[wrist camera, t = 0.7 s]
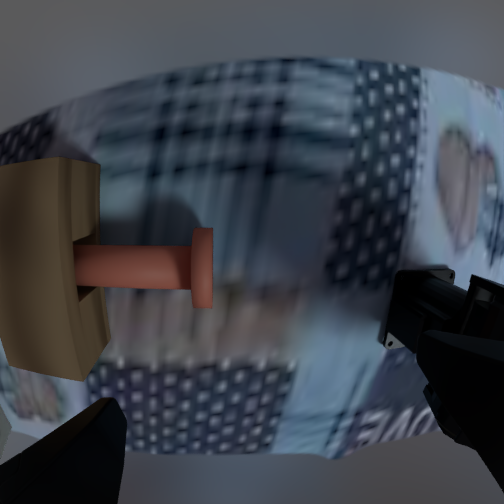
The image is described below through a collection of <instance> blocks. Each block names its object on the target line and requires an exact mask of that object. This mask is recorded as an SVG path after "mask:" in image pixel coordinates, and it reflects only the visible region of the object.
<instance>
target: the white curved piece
mask: <svg viewBox="0 0 504 504" xmlns="http://www.w3.org/2000/svg"><path fill="white" fill-rule="evenodd" d="M11 428H12V426H11V424H10V422H9V421H8V419H7V417H6V415H5V413H4V411H3V409H2V407H1V405H0V459H1V457H2V454H3V451H4V448H5V444H6V442H7V439H8V436H9V434H10V431H11Z"/></svg>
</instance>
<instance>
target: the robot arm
mask: <svg viewBox="0 0 504 504" xmlns="http://www.w3.org/2000/svg"><path fill="white" fill-rule="evenodd" d="M402 275H403V278H402V279H401V276H402ZM449 276H450V277H449ZM454 279H455V271H454V270H451V269H430V270H400V271H398V272H397V274H396V276H395V283H394V289H393V295H392V300H391V304H390V309H389V315H388V320H387V325H386V331H385V336H384V340H383V346H384V347H385V348H386V349H394V348H400V347H406V348H408V349H409V350H410V351H411V352H412V353H414V354H415V353H416V360H417V363H418V365H419V367H420V368H421V370H422V372H423V373H424V375H425V377H426V378H427V380H428V382H429V383H428V385H426V386H425V388H424V390H423V393H424V396H425V398H426V400H427V402H428V404H429V406H430V408H431V410H432V412H433V414H434V416H435V419H436V421H437V423H438V425H439V427H440V428H441V430H442V432H443V433H444V434H445V435H447V436H449V437H450V438H452V439H453V440H454V441H455V442H456V443H458V444H462V445H465V446H468V447H470V448H472V449H474V450H476V451H477V452H478V454H479V456H480V457H481V458H482V460H483V461H484V463H485V465H486V466H487V468H488V469H489V471H490V472H491V474H492V475H493V477H494V478H495V480H496V481H497V483H498V484H499V486H500V488H501V489H502V491H503V493H504V285H502V284H499V283H497V282H494V281H491V280H488V279H485V278H482V277H479V276H476V275H473V274H472V275H471V278H470V281H469V282H470V285H469V289H468V291H466V290H464V289H462V288H460V287H458V286H455V285H453V284H454ZM389 342H390V343H389ZM388 343H389V344H388ZM126 432H127V420H126V417H125V415H124V413H123V412H122V410H121V408H120V406H119V404H118V402H117V400H116V399H115V398H113V397H106V398H100V399H99V400H97V401H96V402H95V403H93V404H92V405H90V406H89V407H87V408H86V409H85V410H83V411H82V412H80V413H79V414H77V415H76V416H74V417H73V418H72V419H70V420H69V421H67V422H66V423H64V424H63V425H61V426H60V427H58V428H57V429H55V430H54V431H52V432H51V433H49V434H48V435H46V436H45V437H43V438H42V439H40V440H39V441H37V442H36V443H34V444H33V445H31V446H30V447H28V448H27V449H25V450H24V451H22V453H19V454H17V455H16V456H14V457H13V458H11V459H9V460H8V461H6V462H5V463H3V464H2V465H0V504H117V503H118V496H119V491H120V484H121V479H122V474H123V467H124V457H125V444H126Z"/></svg>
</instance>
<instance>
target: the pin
mask: <svg viewBox="0 0 504 504" xmlns="http://www.w3.org/2000/svg"><path fill="white" fill-rule="evenodd" d="M73 256H74V267H75V277H76V285H79V286H98V287H120V288H147V289H187V290H191V293H192V304H193V308H212V298H213V228H194V230H193V237H192V246H153V245H73Z"/></svg>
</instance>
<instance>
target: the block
mask: <svg viewBox="0 0 504 504" xmlns="http://www.w3.org/2000/svg"><path fill="white" fill-rule="evenodd" d="M73 245H101V241H100V165H99V164H94V163H89V162H84V161H79V160H74V159H69V158H64V157H52V158H45V159H38V160H31V161H25V162H19V163H14V164H8V165H3V166H0V338H1V341H2V345H3V348H4V351H5V354H6V358H7V361H8V363H9V366H13V367H16V368H20V369H24V370H28V371H32V372H36V373H41V374H45V375H50V376H55V377H60V378H65V379H70V380H76V381H82V382H84V380H85V379H86V377H87V375H88V374H89V372H90V370H91V369H92V367H93V366H94V364H95V362H96V361H97V359H98V358H99V356H100V355H101V353H102V351H103V350H104V348H105V347H106V345H107V344H108V342H109V341H110V339H111V336H110V330H109V323H108V316H107V309H106V301H105V292H104V287H98V286H79V285H76V277H75V267H74V256H73Z"/></svg>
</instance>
